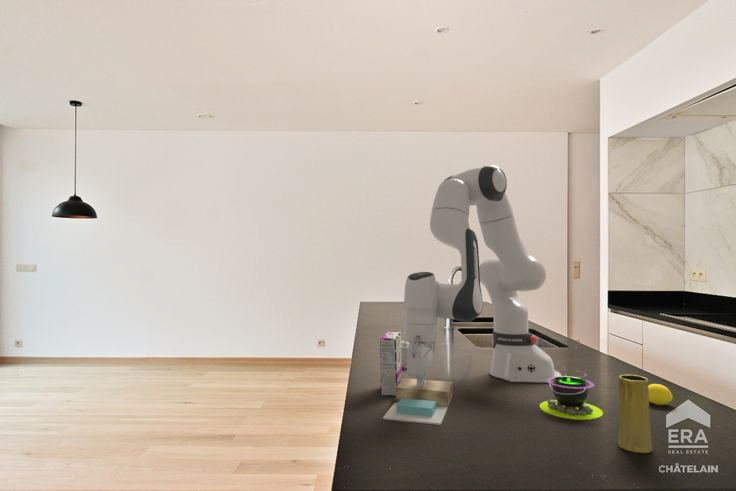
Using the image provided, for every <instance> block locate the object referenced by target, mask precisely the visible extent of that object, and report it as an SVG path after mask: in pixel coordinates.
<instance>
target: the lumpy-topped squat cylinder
mask: <svg viewBox="0 0 736 491" xmlns="http://www.w3.org/2000/svg"><path fill="white" fill-rule="evenodd" d="M408 346H409V341H407V340H402V339H401V361H402V368H403V367H404V368H403V369H407V353H408Z"/></svg>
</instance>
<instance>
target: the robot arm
mask: <svg viewBox="0 0 736 491" xmlns="http://www.w3.org/2000/svg"><path fill="white" fill-rule="evenodd" d="M507 183H508V182H507V177H506V173H504V171H503V169H501V168H500V167H499V166H497V165H484V166H482V167H481V166H480V167H475V168H471V169H467V170H465V171H463V172H460V173H457V174H455V175H454V174H453V175H450V176H449V177H447V178H445V179H444V180H443V181H442V182H441V183H440V184H439V186H438V188H437V191H436V193H435V196H434V200H433V204H432V208H431V214H430V217H429V220H430V222H429V227H430V228H429V229H430V232H431V234H432V235H433V237H434V238H435V239H436V240H437V241H439V243H442V244H444V245H446V246H448V247H450V248H453V249H456V250H458V252H459V254H460V264H461V265H460V268H461V271H460V272H461V273H460V274H461V281H460V282H459V283H457V284H453V283H441V282H439V281H437V280H436V277H435V276H436V275H435V274H434V273H432V272H429V271H421V272H420V271H419V272H413V273H411V274H409V275H408V276H407V277H406V281H405V285H404V295H403V296H404V298H403V299H404V301H403V303H404V304H403V305H404V310H405V317H404V322H403V323H404V324H403V325H404V331H403V332H404V341H406V340H407V341H409V346H408V353H407V368H406V374H407V375H408V376H409V377H416V378H415V379H417V386H419V387H423V386H424V384H425V383H426V380H427V378H426V376H427V369H428V368H429V366H430V365H431V364H432V363H433V361H434V358H435V349H436V342H437V341H438V339H439V338H438V334H439V333H438V332H439V330H438V329H439V328H438V319H437V318H439V319H446V320H447V319H448V320H456V321H460V322H464V323H471V322H472V321H474V320H475V319H477V318H478V317H479V316H480V314H481V313H482V312H483V306H484V302H483V294H482V288H481V285H483V286H484V287H485V289H486V292H487V293H488V296H489V299H490V302H491V305H492V314H493V316H492V317H493V331H492V335H491V339H492V340H491V343H492V344H491V345H492V348H493V349H492V350H493V351H492V358H491V365H490V369H489V375H491V376H492V377H494V378H498V379H502V380H505V381H508V382H511V383H512V382H513V383H514V382H515V383H548V384H549V382H546V381H547V379H548V378H549V379H552V377H553V378H554V377H560V376H562V374H561V373H560V372H559V371H558V370H557V371H556V370H555V364H554V362H553V359H552V358H551V356H550V355H549V354H547V353H546V352H545V351H544V350H543V349H541V348H540V347H539V346H537V345H536V343H537V341H538V338H537V336H535V335H534V334H533V333H531V332H529V310H528V308H527V306H526V305H525V304H524V303H523V302H522V301H521V299H520V298H519V294H518V292H531V291H535V290H538V289H541V288H542V286H543V285H544V283H545V282H546V278H547V273H546V272H547V271H546V269H545V266H544V264H543V263H542V262H541V261H540V260H538V259H536V258H535V257H534V256H533V255H532V254H531V253H530V252H529V250H528V249H527V248H526V245H525V244H524V243H523V240H522V239H521V237H520V235H519V231H518V228H517V225H516V221H515V217H514V212H513V209H512V206H511V204H510V200H509V198H508V195H507V194H506V190H507V185H508V184H507ZM471 206H476V213H477V219H478V223H479V226H480V229H481V234H482V239H483V242H484V244H485V246H486V247H487V248H489V250H491V251H492V252H493V253H494V254H495V255H496V257H493V258H492V257H491V258H488V259H486V260H484V261H482V262H481V263H480V254H479V243H478V237H477V235H476V233H475V231H474V230H472V229H471V228H470V225H469V218H470V207H471ZM554 371H555V372H554ZM550 377H551V378H550ZM551 382H552V384H553V382H554V380H553V381H551Z"/></svg>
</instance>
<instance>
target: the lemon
mask: <svg viewBox="0 0 736 491" xmlns="http://www.w3.org/2000/svg"><path fill="white" fill-rule="evenodd" d="M648 390H649V403H651V404H654V405H658V406H663V405H664V406H665V405H668V404H669V403H671V401H672V400H673V398H674V396H673V393H672V392H671V391H670V389H669V388H668V387H667V386H665V385H663V384H660V383H650V384H648Z"/></svg>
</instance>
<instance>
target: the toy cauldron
mask: <svg viewBox="0 0 736 491" xmlns="http://www.w3.org/2000/svg"><path fill="white" fill-rule="evenodd" d="M562 368H563V369H565V366H564V367H563V366H562ZM555 371H557V372H558V369H556V370H555ZM555 371H554V372H555ZM576 372H577V373H578V372H579V370H576ZM581 373H583V374H584V375H583V376H581V377H579V376H576V377H575V376H567V374H566V373H565V374H564V375H561V376H560V377H554V378H553V377H552V379H549V378H548V379H547V381H546V382H545V383H548V382H549V383H548V385H549V388H550V390H551V391H552V394H553V397H554V399H549V400H545V401H543V402H541V403H539V408H540V410H541V411H543V413H546V414H549V415H551V416H554V417H557V418H563V419H569V420H570V419H571V420H581V421H583V420H584V421H587V420H588V421H589V420H590V421H591V420H596V419H600V418H601V417H603V415H604V412H603V410H602V409H601V408H599V407H597V406H595V405H593V404H589V403H586V402H587V401H588V398H589V397H590V395H589V392H590V391H589V389H590V388H593V387H594V386H595V384H594V383H593V382H592V381H590V380H587V379H583V377H586V376H588V374H587V373H585V372H582V371H581ZM550 378H551V377H550ZM553 380H554V382H553V383H552V382H551V381H553ZM588 384H589V385H588Z"/></svg>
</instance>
